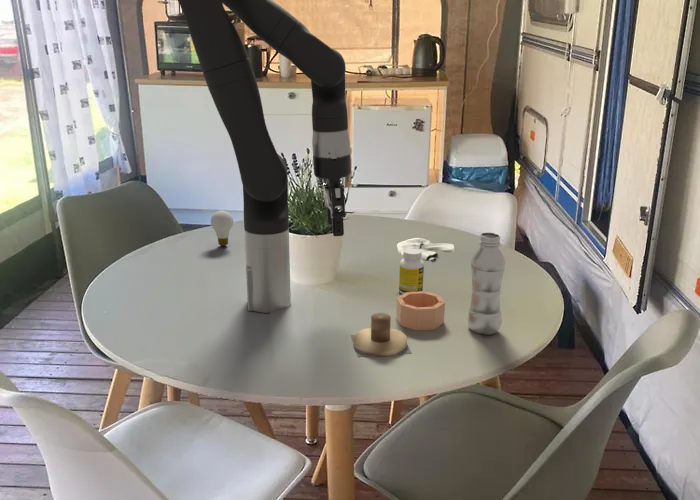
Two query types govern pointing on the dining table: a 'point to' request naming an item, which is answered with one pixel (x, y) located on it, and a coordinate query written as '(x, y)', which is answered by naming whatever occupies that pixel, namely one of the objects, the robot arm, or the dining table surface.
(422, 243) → the cloth
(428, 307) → the bowl
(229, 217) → the light bulb
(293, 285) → the dining table surface
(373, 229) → the dining table surface
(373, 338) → the lid
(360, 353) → the mat
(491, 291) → the plastic bottle
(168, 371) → the dining table surface
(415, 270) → the supplement bottle
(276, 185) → the robot arm
